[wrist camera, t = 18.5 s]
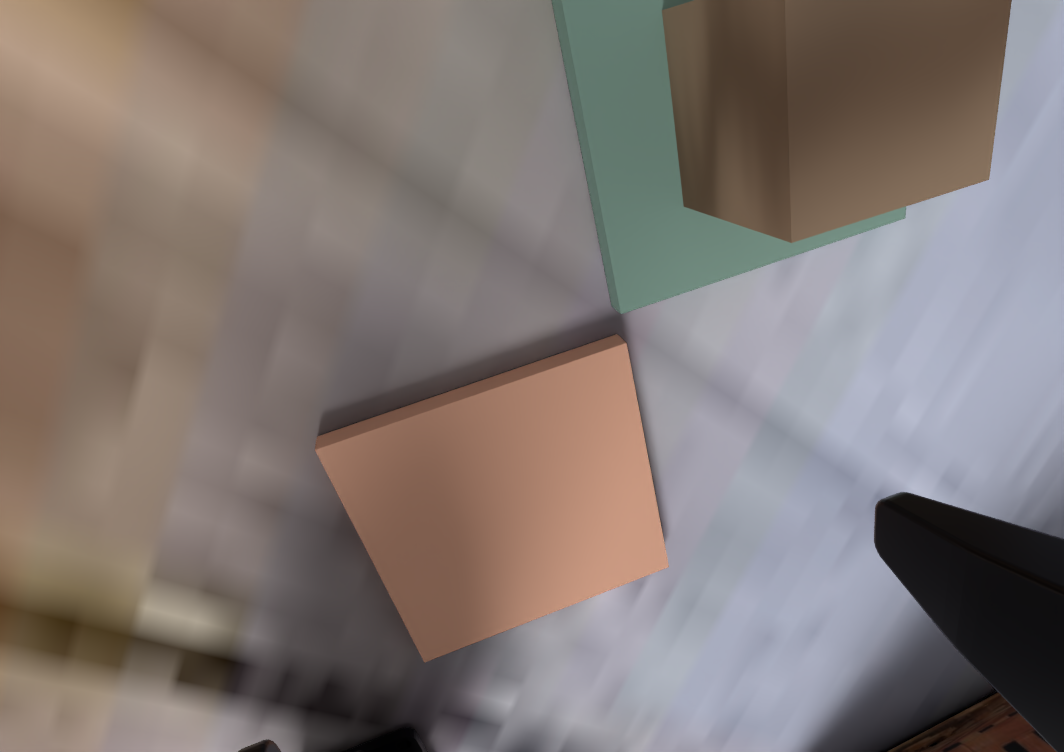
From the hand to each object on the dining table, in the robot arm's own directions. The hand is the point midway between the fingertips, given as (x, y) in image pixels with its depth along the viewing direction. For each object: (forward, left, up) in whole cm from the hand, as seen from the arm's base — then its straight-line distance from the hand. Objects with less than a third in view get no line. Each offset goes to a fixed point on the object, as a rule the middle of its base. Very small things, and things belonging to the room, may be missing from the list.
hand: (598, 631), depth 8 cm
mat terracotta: (-6, 0, -11) cm, 13 cm away
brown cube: (+5, -10, -11) cm, 15 cm away
